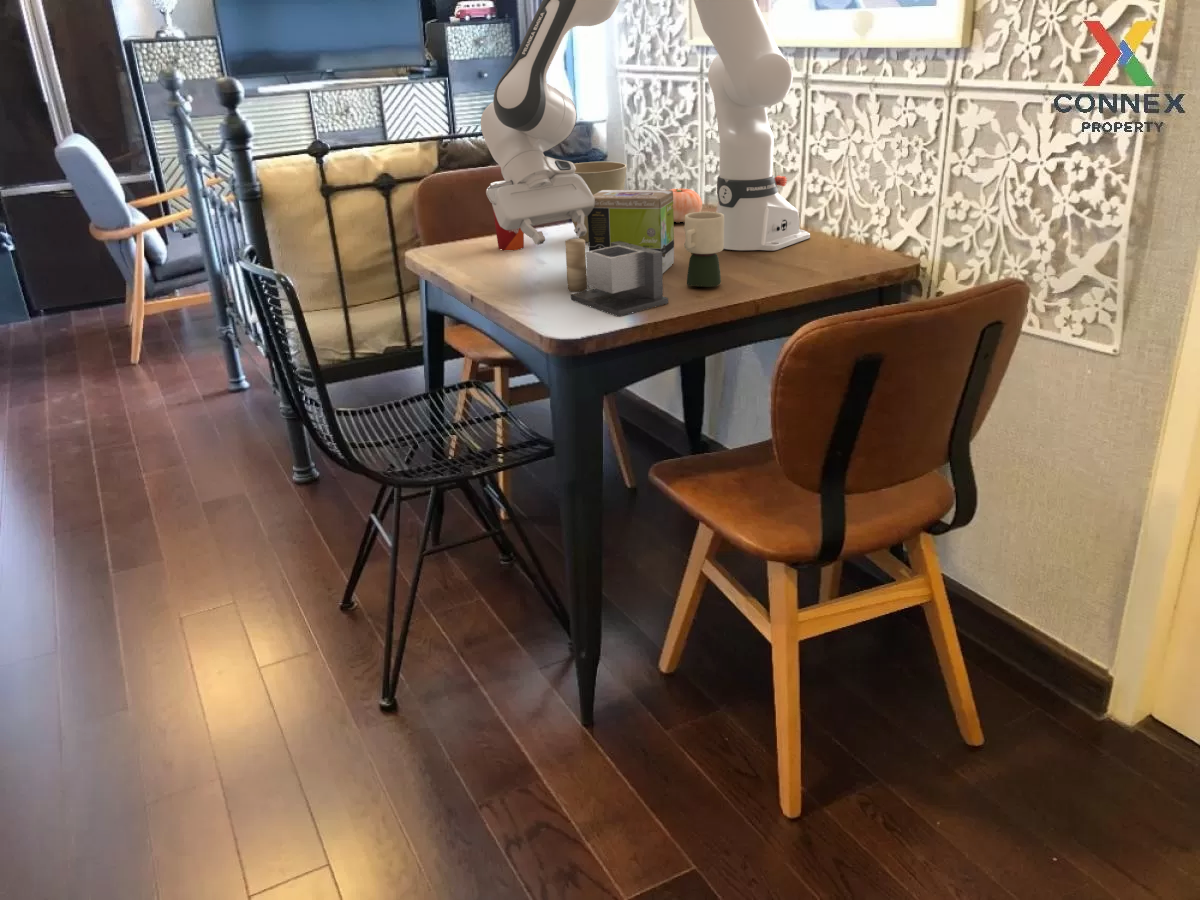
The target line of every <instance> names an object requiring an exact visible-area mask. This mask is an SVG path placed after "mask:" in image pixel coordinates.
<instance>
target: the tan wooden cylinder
mask: <svg viewBox="0 0 1200 900" xmlns="http://www.w3.org/2000/svg"><path fill="white" fill-rule="evenodd" d="M564 243H565V261H566V280H567V281H566V282H567V283H566V284H567V291H569V292H573V293H578V292H582V291H584V290H585V291H587V290H588V285H587V262H586V242H585V240H584V239H579V238H568V239H566V240H565V241H564ZM586 289H587V290H586Z"/></svg>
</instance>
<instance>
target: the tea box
mask: <svg viewBox="0 0 1200 900" xmlns="http://www.w3.org/2000/svg"><path fill="white" fill-rule="evenodd" d="M593 197H594V199H595V205H594V208H593V209H592V211H591V213H590V214H589V215H588V216H587V220H588V240H589V243H588V251H592V250H597V249H601V248H606V247H611V243H612V242H616V241H622V242H626V243H630V244H634V245H637V246H641V247H645V248H649V249H653V250H657V251H661V252H662V271H663V274H664V273H666V271H668V270H669V269H670V268H671V267H672V266H673V265H672V264H674V263H675V227H674V226H675V225H674V216H673V191H672V190H671V189H657V190H655V189H654V190H653V189H624V190H602V191H600V192H598V193H596V194H594V195H593Z"/></svg>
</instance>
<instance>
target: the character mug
mask: <svg viewBox="0 0 1200 900" xmlns="http://www.w3.org/2000/svg"><path fill="white" fill-rule="evenodd" d="M683 229H684V235H685V241H684V245H683V246H684V248H685V250H686V252H689V253H690V254H691V255H690V257H689V262H688V268H687V273H686V275H687V276H686V285H687V286H693V287H694V286H695V287H697V288H698V287H701V288H702V287H707V288H709V287H717V286H720V285H721V283H722V278H721V266H720V260H719V259H720V257H719V256H718V254H717V253H720V252H722V251H723V250H724V249H723V247H724V214H722V213H718V212H716V211H700V212H694V213H689V214H686V215H685V222H684V228H683Z"/></svg>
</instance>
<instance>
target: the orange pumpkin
mask: <svg viewBox="0 0 1200 900" xmlns="http://www.w3.org/2000/svg"><path fill="white" fill-rule="evenodd" d="M670 190H672V191H673V216H674V222H676V224H680V222H683V223H685V215H686V214H689V213H694V212H702V209H703V201H702V198H701V196H700V194H698V193H697V192H696V191H695V190H693V189H689V188H685V187H684V188H683V187H680V188H670Z"/></svg>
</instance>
